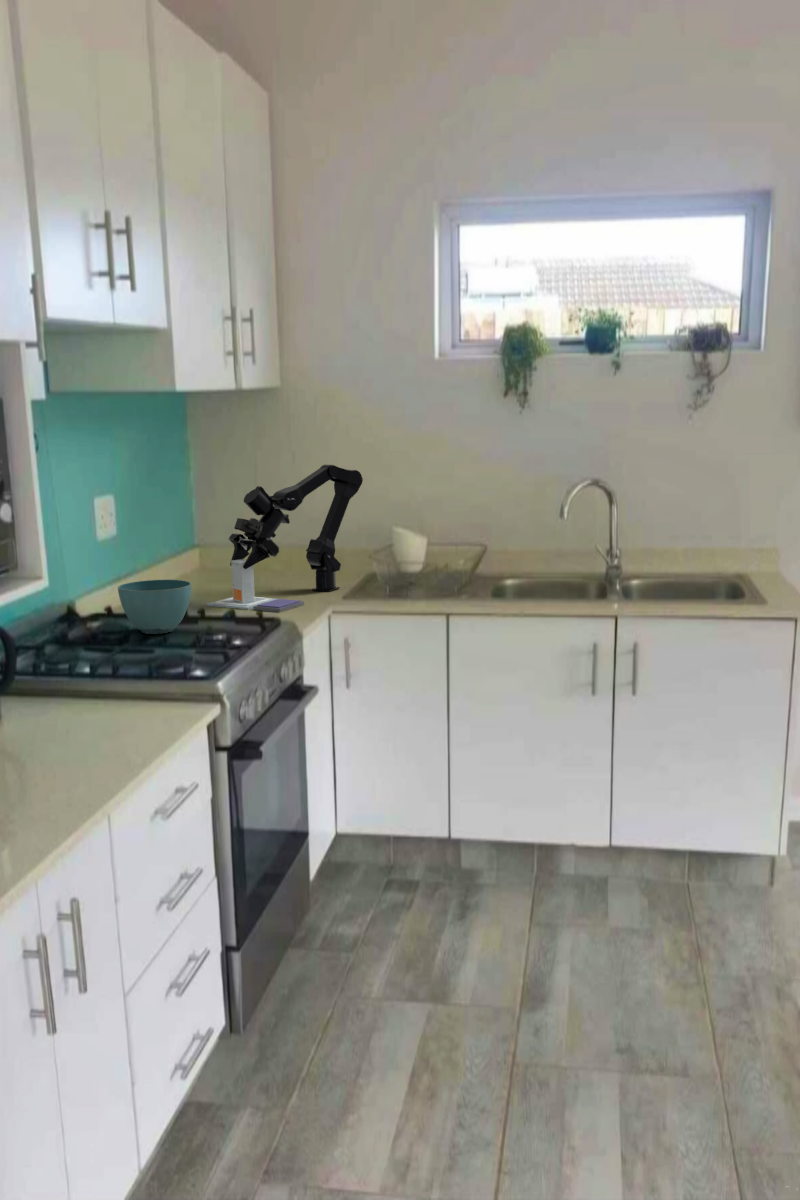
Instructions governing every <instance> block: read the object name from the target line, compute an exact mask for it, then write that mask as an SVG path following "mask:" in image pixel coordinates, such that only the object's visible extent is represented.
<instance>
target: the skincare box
mask: <svg viewBox="0 0 800 1200" xmlns="http://www.w3.org/2000/svg"><path fill="white" fill-rule="evenodd" d="M246 560H247V559H245V558H244V559H241V560H232V561H231V560H230V562H231V566H230V567H231V583H232V584H231V585H232V586H231V587H232V597H233V600H234V601H238V602H241V603H248V602H255V597H256V596H255V595H256V594H255V576H254V574H255V573H254V565H253V566H251V567H249V568H247V569H244V568H243V565H244V563H245V562H246Z"/></svg>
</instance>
